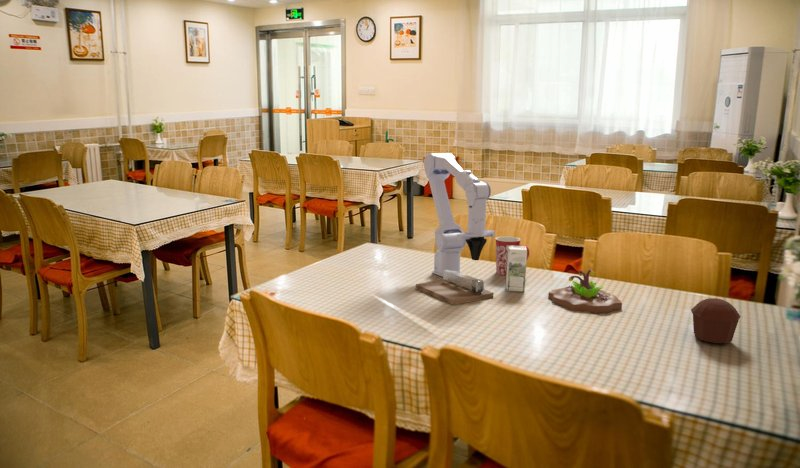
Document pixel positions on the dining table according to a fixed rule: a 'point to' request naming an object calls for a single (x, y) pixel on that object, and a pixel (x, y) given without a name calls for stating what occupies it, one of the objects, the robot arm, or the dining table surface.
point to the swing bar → (464, 280)
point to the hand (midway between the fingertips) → (475, 259)
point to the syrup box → (516, 268)
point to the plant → (585, 296)
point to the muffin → (715, 320)
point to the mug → (505, 252)
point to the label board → (452, 292)
